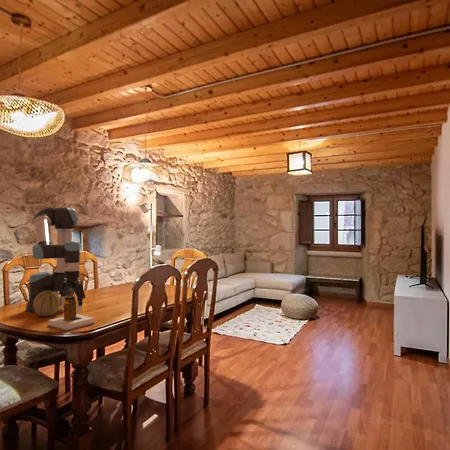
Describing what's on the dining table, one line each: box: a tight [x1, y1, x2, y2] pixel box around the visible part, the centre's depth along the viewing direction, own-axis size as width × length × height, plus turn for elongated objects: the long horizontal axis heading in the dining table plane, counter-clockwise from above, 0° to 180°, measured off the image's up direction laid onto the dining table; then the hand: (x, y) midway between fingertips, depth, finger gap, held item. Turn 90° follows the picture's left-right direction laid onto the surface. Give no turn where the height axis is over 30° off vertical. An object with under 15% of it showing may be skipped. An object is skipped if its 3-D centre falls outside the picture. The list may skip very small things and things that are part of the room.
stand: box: [47, 313, 95, 332], centre depth 186 cm, size 17×17×3 cm
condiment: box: [61, 295, 80, 321], centre depth 186 cm, size 7×8×12 cm
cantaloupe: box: [33, 291, 62, 317], centre depth 205 cm, size 15×15×15 cm
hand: (71, 310), depth 186 cm, fingers open, 13 cm apart
